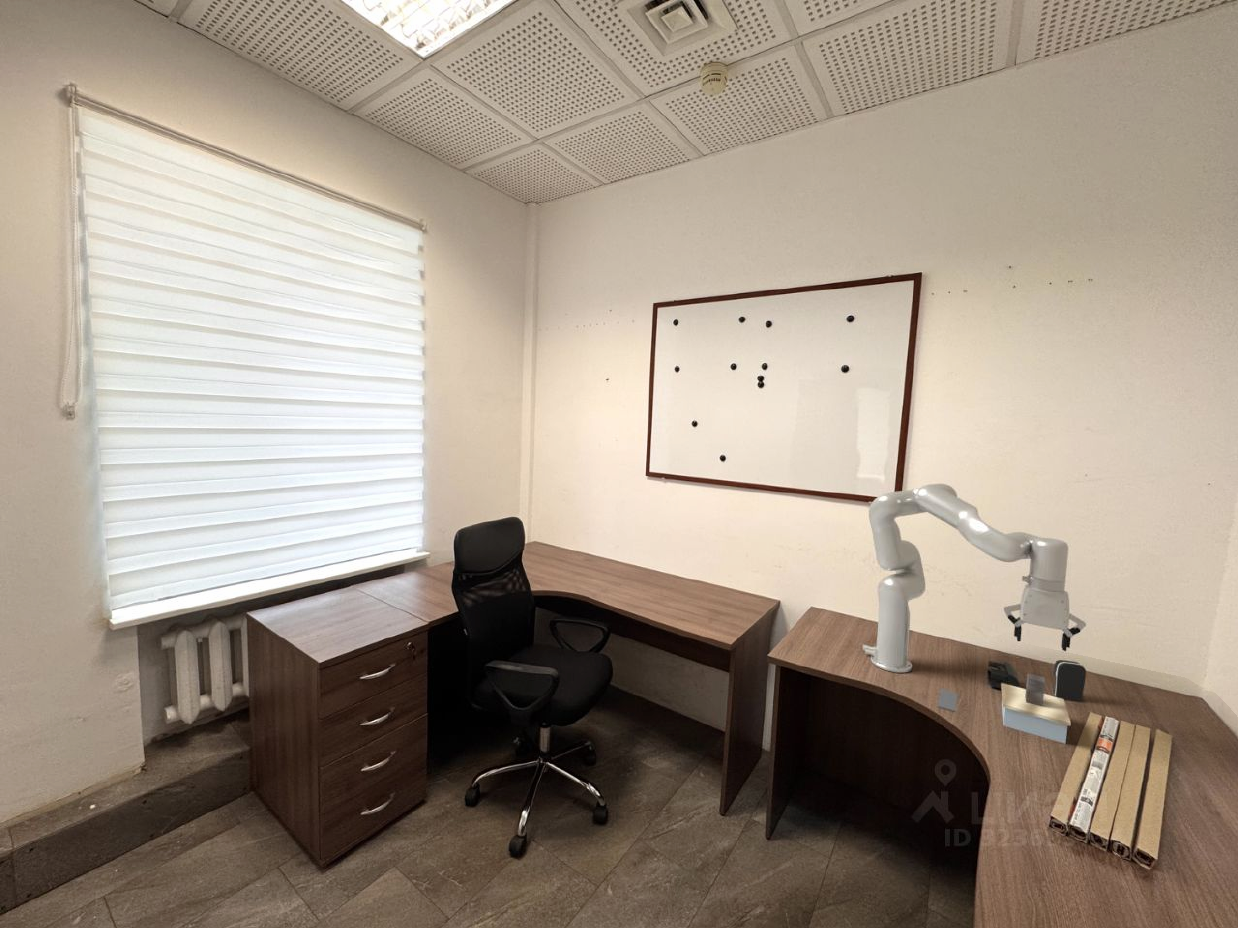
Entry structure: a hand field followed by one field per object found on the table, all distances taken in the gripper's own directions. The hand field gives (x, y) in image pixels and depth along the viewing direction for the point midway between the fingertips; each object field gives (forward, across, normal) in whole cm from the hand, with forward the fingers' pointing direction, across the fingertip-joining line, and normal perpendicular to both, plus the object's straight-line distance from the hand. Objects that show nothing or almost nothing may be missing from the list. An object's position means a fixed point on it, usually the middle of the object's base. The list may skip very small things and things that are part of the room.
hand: (1040, 644), depth 139 cm
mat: (+23, -17, 0) cm, 29 cm away
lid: (+18, 0, 0) cm, 18 cm away
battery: (+24, +10, +25) cm, 36 cm away
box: (+24, 0, 0) cm, 24 cm away
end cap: (+24, -6, +20) cm, 32 cm away
